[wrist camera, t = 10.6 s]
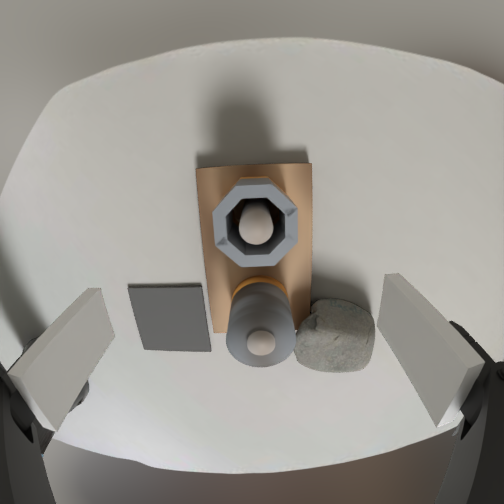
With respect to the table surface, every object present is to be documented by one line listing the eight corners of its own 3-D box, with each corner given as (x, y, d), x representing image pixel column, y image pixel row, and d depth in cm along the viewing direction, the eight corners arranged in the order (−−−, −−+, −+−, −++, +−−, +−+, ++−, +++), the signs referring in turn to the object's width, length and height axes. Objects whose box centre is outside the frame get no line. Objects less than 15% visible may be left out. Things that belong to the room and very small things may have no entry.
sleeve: (226, 239, 31) (217, 268, 24) (221, 178, 29) (210, 187, 21) (287, 236, 31) (297, 264, 24) (286, 175, 29) (297, 183, 21)
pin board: (215, 326, 37) (204, 379, 27) (198, 168, 30) (173, 175, 21) (307, 322, 36) (321, 374, 27) (309, 162, 30) (333, 167, 20)
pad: (145, 347, 38) (144, 349, 38) (128, 287, 35) (127, 288, 35) (211, 349, 38) (211, 351, 38) (201, 285, 35) (201, 287, 34)
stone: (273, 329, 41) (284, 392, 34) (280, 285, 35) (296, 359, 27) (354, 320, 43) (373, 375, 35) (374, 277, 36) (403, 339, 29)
